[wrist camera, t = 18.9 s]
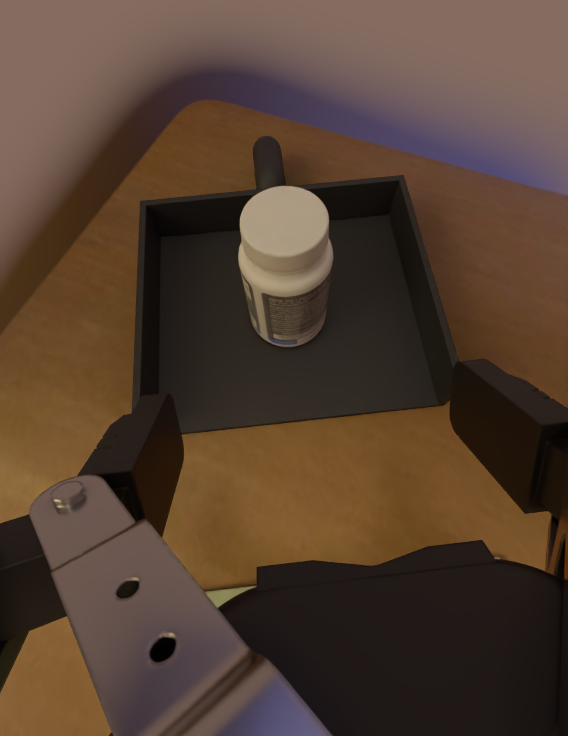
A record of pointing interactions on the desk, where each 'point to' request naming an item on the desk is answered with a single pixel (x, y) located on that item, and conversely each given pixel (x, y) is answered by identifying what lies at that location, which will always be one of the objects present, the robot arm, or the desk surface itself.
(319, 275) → the pill bottle
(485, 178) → the desk surface
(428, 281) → the dustpan
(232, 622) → the robot arm
